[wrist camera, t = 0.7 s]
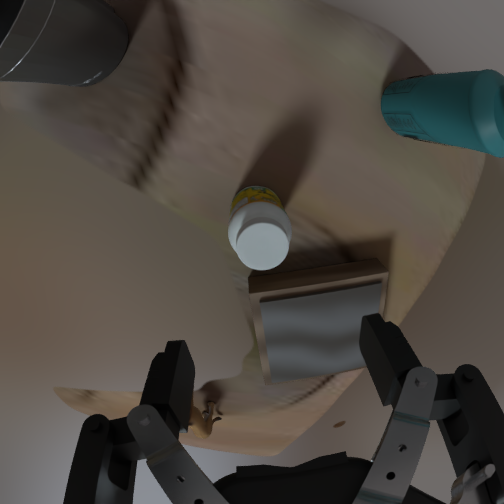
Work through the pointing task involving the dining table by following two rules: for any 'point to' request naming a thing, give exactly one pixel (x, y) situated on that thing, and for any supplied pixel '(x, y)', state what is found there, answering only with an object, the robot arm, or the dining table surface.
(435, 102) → the beverage bottle
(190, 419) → the lion figurine
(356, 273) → the wooden framed mirror
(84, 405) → the dining table surface
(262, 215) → the supplement bottle
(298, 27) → the dining table surface
